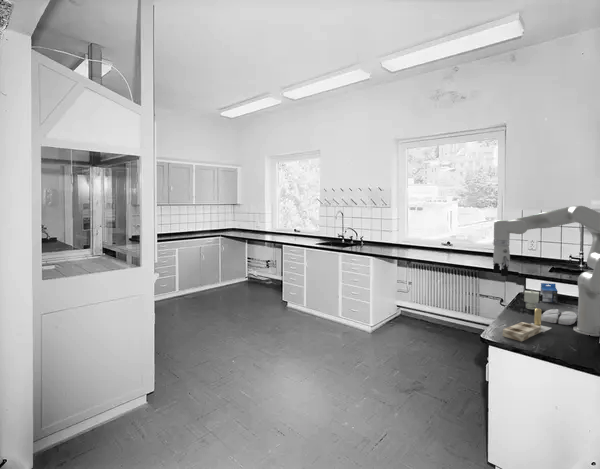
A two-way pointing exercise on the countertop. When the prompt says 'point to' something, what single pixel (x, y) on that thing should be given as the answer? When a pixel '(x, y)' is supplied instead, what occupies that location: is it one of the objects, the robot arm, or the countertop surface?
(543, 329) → the rubber mat
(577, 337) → the countertop surface
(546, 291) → the label tape cartridge
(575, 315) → the lung model
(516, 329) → the hole block
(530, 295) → the pneumatic valve
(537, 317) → the brass peg
